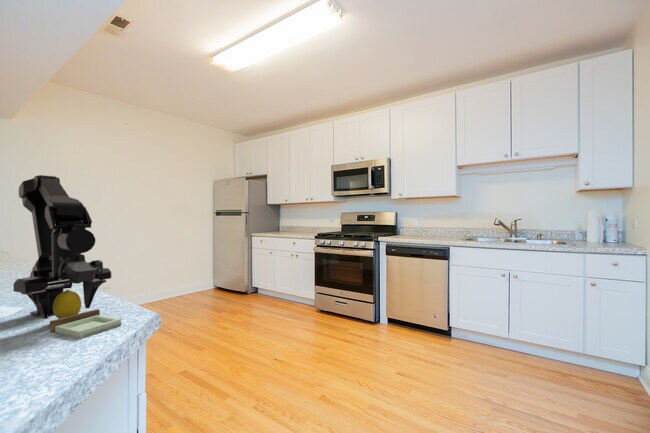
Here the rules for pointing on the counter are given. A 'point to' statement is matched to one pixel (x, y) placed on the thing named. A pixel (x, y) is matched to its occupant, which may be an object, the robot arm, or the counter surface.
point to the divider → (72, 319)
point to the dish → (87, 326)
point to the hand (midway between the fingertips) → (67, 313)
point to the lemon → (66, 304)
